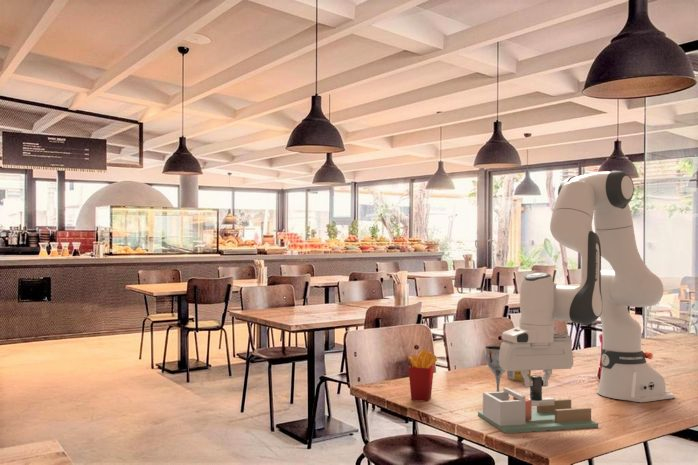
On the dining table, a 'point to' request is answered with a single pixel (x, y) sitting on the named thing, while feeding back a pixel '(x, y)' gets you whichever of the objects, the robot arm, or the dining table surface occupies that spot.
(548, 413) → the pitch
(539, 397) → the kicker
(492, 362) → the wine glass
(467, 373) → the dining table surface
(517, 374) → the canned food
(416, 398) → the french fries
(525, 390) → the dining table surface
